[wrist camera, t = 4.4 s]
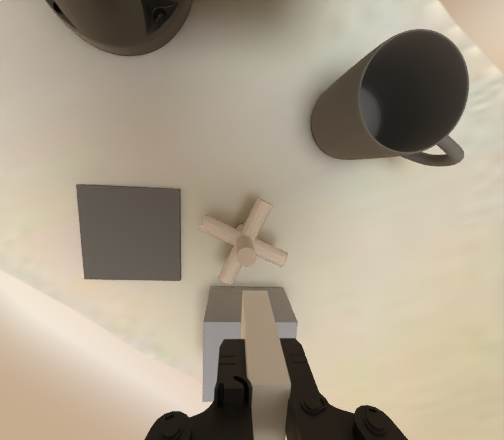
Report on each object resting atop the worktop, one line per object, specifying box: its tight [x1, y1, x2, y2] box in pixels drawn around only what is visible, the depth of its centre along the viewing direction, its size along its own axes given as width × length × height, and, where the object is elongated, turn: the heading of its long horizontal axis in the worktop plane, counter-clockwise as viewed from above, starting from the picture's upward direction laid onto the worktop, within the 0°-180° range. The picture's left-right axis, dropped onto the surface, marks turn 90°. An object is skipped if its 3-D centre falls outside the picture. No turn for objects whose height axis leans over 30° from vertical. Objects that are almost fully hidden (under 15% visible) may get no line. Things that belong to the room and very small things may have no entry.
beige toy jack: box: [199, 198, 287, 285], centre depth 28 cm, size 10×10×10 cm
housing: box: [203, 287, 298, 402], centre depth 31 cm, size 10×10×8 cm
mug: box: [311, 29, 469, 166], centre depth 25 cm, size 14×9×12 cm
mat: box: [76, 185, 181, 281], centre depth 31 cm, size 12×12×1 cm
